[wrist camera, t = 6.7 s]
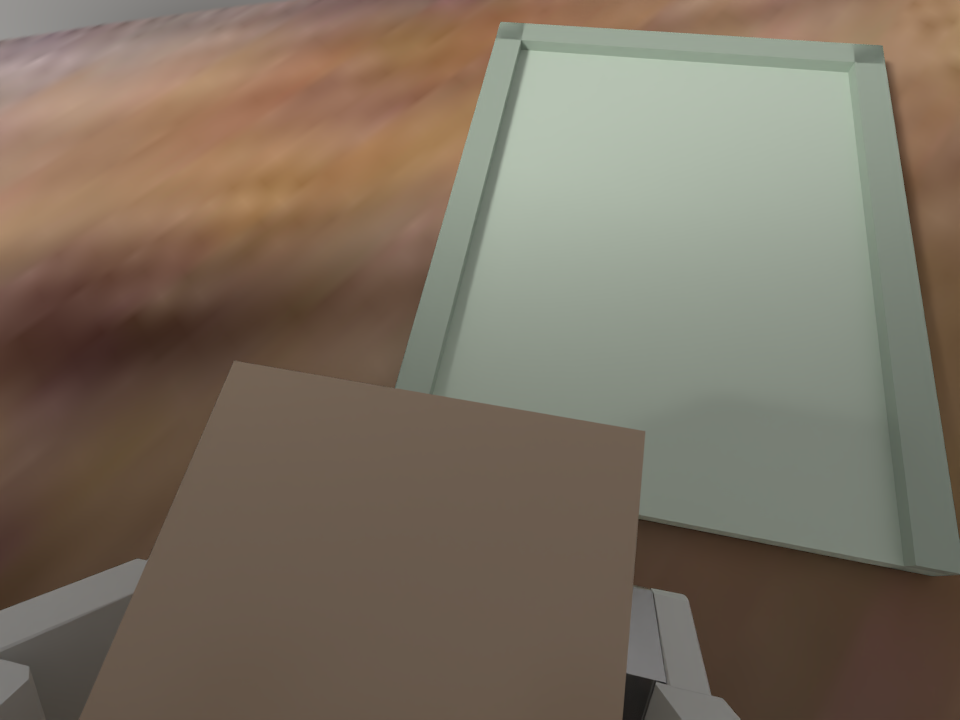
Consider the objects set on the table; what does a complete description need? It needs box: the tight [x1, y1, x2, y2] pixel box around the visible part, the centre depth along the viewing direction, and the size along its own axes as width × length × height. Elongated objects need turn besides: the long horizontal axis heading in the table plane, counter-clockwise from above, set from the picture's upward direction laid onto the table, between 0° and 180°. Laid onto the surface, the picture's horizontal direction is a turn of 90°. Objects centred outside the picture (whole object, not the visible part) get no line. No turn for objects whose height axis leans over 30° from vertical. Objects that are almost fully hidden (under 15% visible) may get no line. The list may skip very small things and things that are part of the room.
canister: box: [79, 361, 645, 720], centre depth 9 cm, size 5×5×9 cm
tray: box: [395, 22, 960, 576], centre depth 17 cm, size 14×18×1 cm
